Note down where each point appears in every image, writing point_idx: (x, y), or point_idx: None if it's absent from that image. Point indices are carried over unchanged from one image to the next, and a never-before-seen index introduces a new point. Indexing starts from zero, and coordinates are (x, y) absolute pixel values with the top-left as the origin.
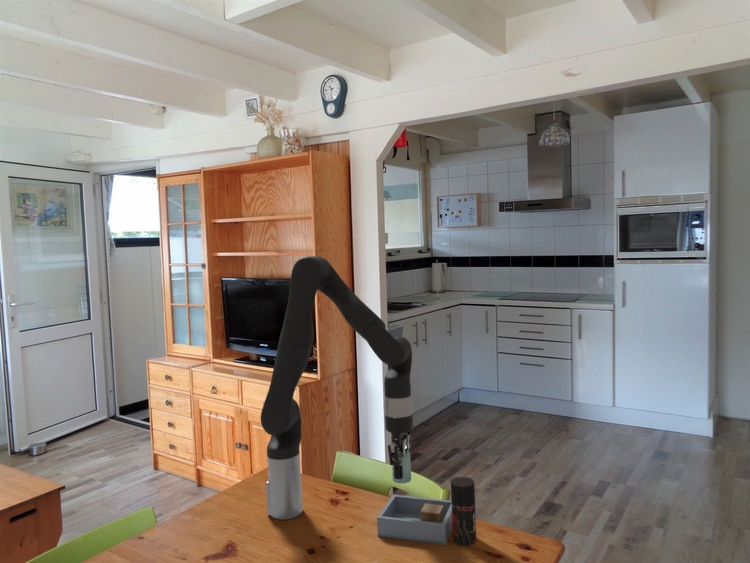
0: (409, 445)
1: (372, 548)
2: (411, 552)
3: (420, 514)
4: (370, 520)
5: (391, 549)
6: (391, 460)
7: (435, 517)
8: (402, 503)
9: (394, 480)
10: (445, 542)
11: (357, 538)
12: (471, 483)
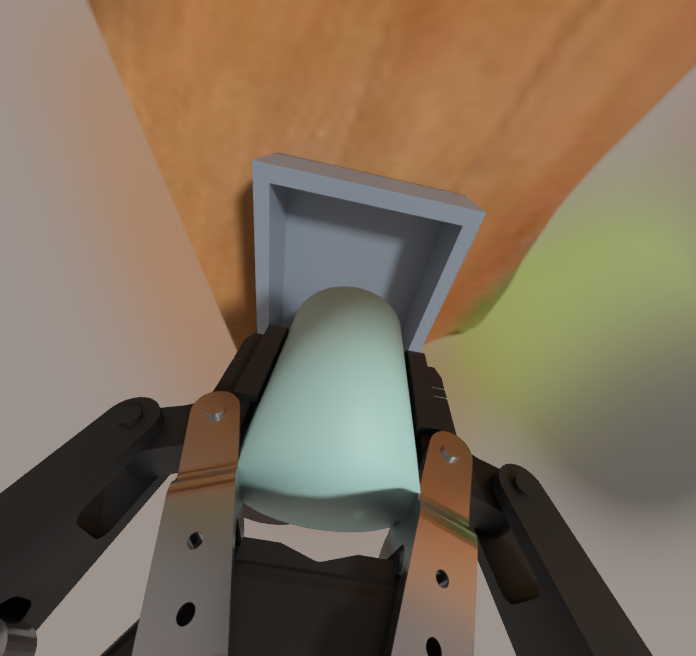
0: (485, 572)
1: (196, 144)
2: (220, 270)
3: (415, 290)
4: (399, 90)
5: (214, 214)
6: (76, 458)
7: None
8: (443, 246)
9: (303, 305)
10: None
11: (241, 52)
12: (259, 519)
